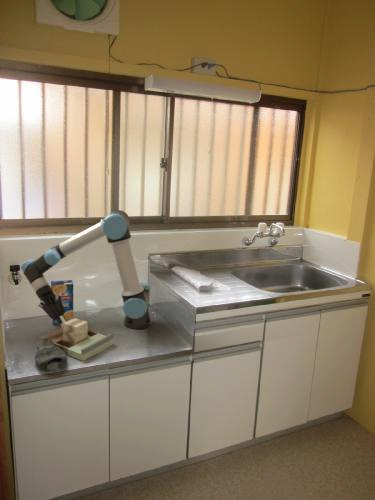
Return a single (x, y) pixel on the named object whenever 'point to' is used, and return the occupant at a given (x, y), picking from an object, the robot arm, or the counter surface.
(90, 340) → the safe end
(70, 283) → the beverage box
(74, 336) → the birch block
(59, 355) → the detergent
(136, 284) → the robot arm
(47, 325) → the counter surface
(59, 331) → the box
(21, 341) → the counter surface
